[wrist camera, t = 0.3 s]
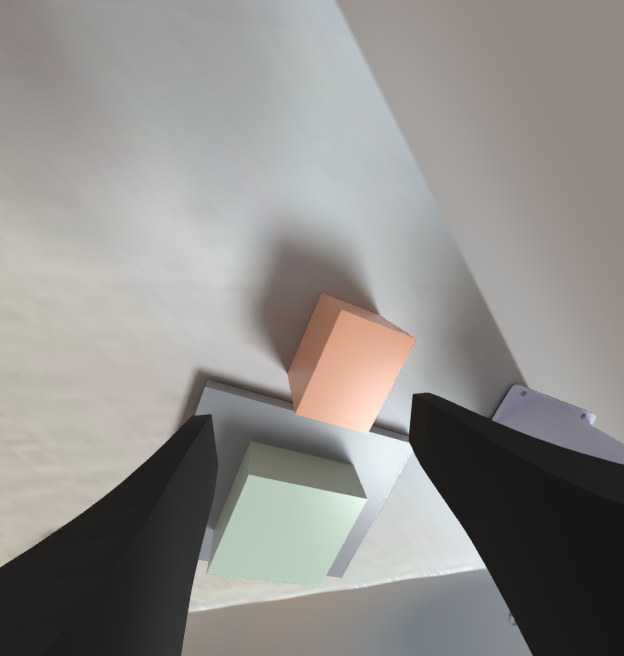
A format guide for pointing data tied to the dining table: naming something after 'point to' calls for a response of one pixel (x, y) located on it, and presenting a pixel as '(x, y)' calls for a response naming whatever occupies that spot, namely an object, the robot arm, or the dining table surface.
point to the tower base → (305, 438)
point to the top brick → (346, 364)
